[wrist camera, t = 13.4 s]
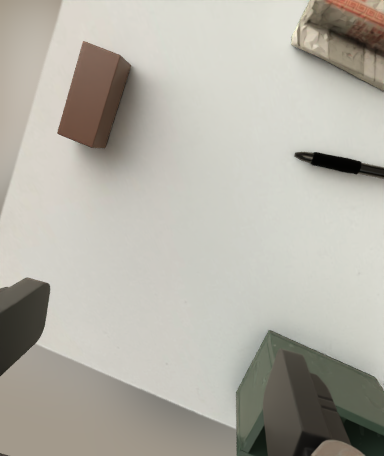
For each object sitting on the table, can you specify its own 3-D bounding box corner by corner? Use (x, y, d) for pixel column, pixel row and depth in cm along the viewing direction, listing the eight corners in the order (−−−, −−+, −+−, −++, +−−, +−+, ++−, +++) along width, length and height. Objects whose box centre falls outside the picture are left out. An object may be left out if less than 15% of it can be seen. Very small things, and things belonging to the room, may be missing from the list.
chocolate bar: (73, 136, 32) (56, 133, 29) (97, 51, 30) (82, 40, 27) (105, 148, 32) (92, 147, 29) (131, 65, 30) (120, 55, 27)
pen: (468, 176, 28) (477, 177, 27) (460, 196, 29) (469, 198, 28) (297, 141, 29) (299, 141, 28) (292, 161, 30) (294, 161, 29)
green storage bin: (235, 392, 35) (236, 456, 27) (269, 329, 33) (279, 379, 26) (336, 438, 34) (365, 515, 27) (375, 377, 33) (417, 441, 25)
